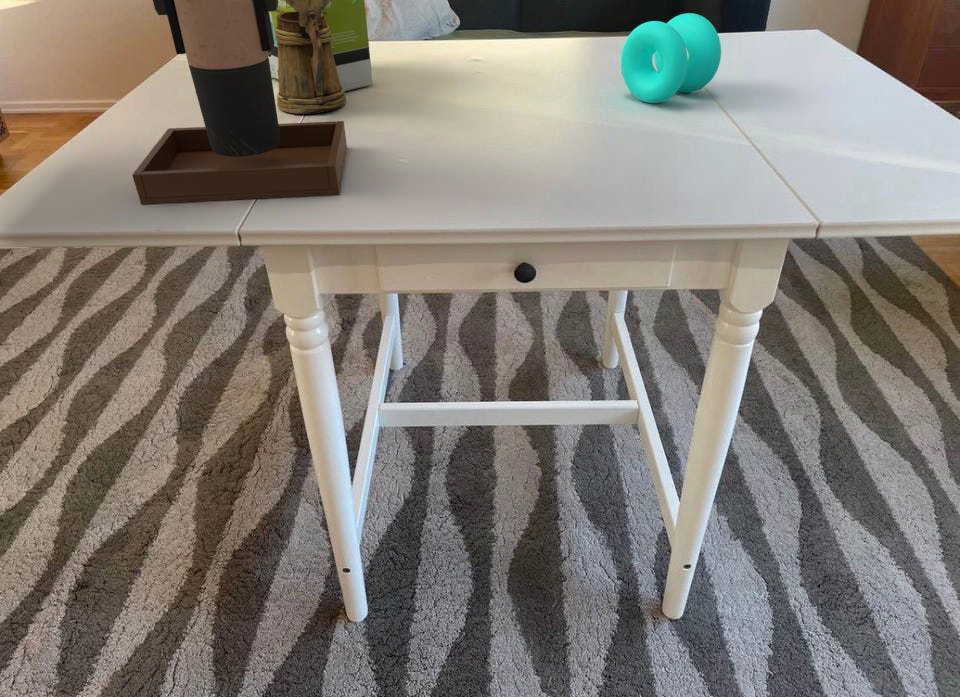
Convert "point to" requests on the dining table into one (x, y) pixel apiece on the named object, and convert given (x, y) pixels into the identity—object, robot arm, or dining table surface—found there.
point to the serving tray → (243, 166)
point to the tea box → (338, 41)
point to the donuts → (670, 57)
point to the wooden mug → (306, 60)
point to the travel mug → (230, 75)
